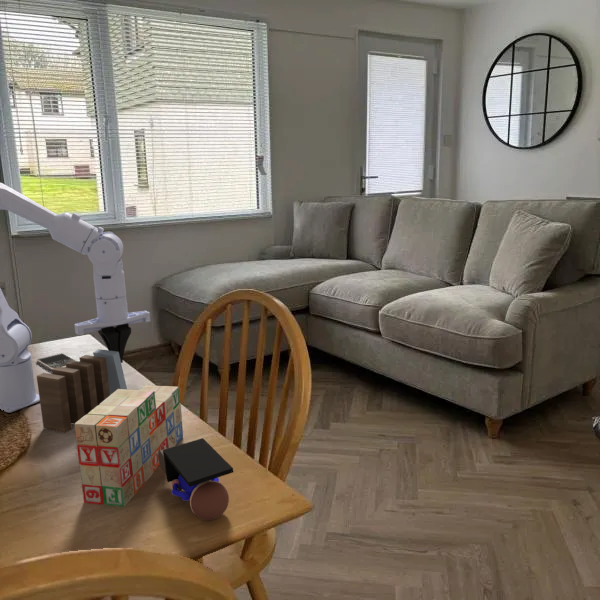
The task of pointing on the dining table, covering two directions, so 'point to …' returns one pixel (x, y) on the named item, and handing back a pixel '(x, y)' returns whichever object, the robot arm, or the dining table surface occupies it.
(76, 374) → the domino
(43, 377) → the domino
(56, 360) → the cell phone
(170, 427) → the stack of blocks
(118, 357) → the domino
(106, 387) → the domino
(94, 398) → the domino
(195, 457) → the figurine character
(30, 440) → the dining table surface
